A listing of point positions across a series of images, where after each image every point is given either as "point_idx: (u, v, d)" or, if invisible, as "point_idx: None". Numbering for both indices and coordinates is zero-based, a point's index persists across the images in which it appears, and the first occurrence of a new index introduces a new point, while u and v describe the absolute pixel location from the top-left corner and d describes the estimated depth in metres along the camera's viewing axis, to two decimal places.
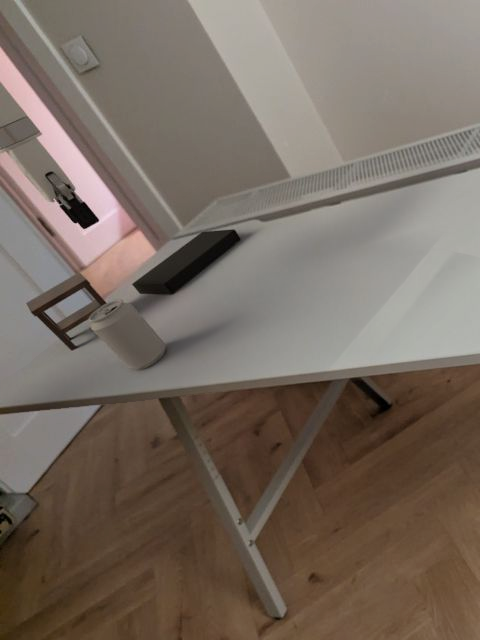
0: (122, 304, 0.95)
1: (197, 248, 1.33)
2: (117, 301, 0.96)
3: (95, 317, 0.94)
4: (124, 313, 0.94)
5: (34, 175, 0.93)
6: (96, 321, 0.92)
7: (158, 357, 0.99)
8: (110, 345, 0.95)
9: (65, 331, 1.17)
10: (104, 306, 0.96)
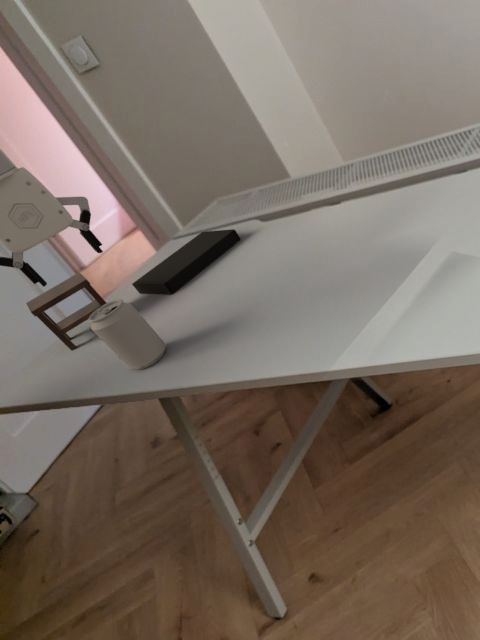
0: (122, 304, 0.95)
1: (197, 248, 1.33)
2: (117, 301, 0.96)
3: (95, 317, 0.94)
4: (124, 313, 0.94)
5: (51, 194, 0.84)
6: (96, 321, 0.92)
7: (158, 357, 0.99)
8: (110, 345, 0.95)
9: (65, 331, 1.17)
10: (104, 306, 0.96)
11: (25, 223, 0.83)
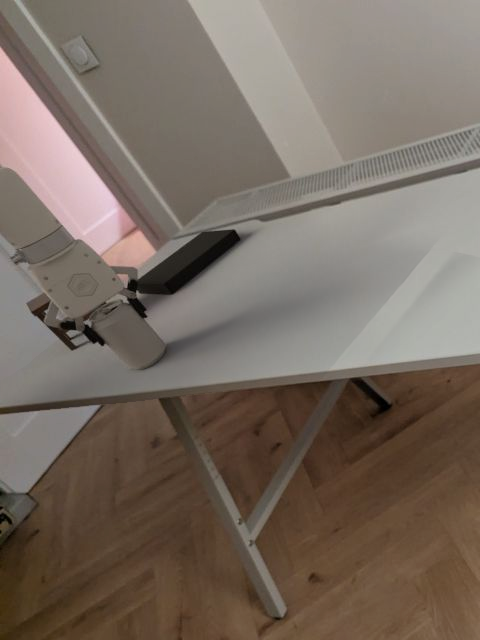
0: (122, 304, 0.95)
1: (197, 248, 1.33)
2: (117, 301, 0.96)
3: (95, 317, 0.94)
4: (124, 313, 0.94)
5: (106, 263, 0.91)
6: (96, 321, 0.92)
7: (158, 357, 0.99)
8: (110, 345, 0.95)
9: (65, 331, 1.17)
10: (104, 306, 0.96)
11: (82, 291, 0.89)
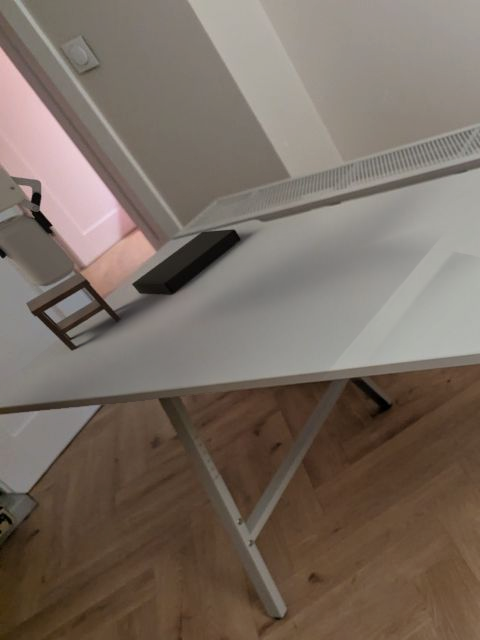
0: (24, 216, 0.94)
1: (197, 248, 1.33)
2: (21, 214, 0.95)
3: None
4: (24, 224, 0.93)
5: (4, 171, 0.90)
6: None
7: (63, 274, 0.98)
8: (11, 258, 0.94)
9: (65, 331, 1.17)
10: (8, 219, 0.95)
11: None
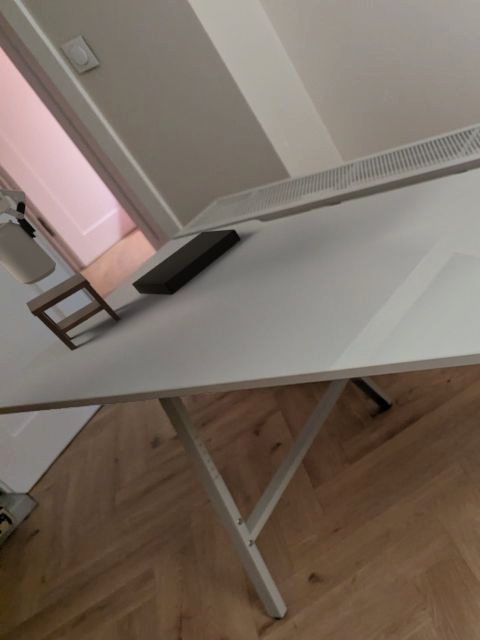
0: (10, 223, 1.07)
1: (197, 248, 1.33)
2: (7, 221, 1.09)
3: None
4: (11, 230, 1.06)
5: None
6: None
7: (46, 273, 1.12)
8: (0, 259, 1.07)
9: (65, 331, 1.17)
10: None
11: None
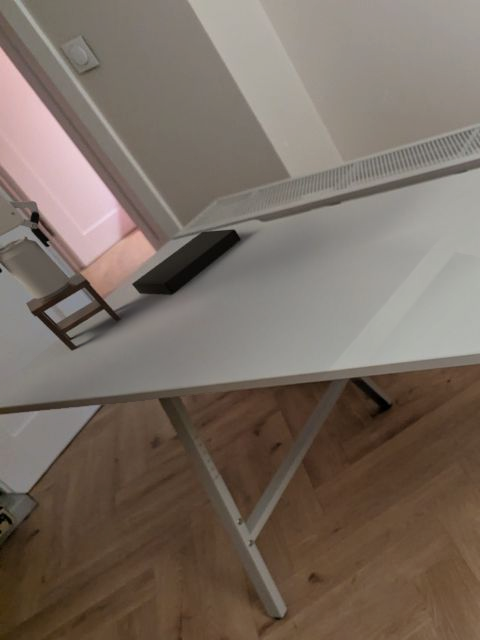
0: (25, 240, 1.09)
1: (197, 248, 1.33)
2: (23, 238, 1.11)
3: (2, 251, 1.09)
4: (26, 247, 1.08)
5: (5, 199, 1.05)
6: (1, 253, 1.07)
7: (60, 288, 1.14)
8: (15, 275, 1.10)
9: (65, 331, 1.17)
10: (11, 243, 1.11)
11: None
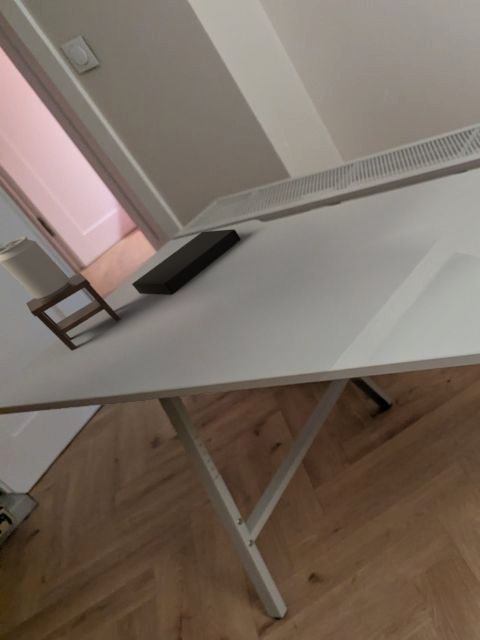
0: (25, 240, 1.09)
1: (197, 248, 1.33)
2: (23, 238, 1.11)
3: (2, 251, 1.09)
4: (26, 247, 1.08)
5: None
6: (1, 253, 1.07)
7: (60, 288, 1.14)
8: (15, 275, 1.10)
9: (65, 331, 1.17)
10: (11, 243, 1.11)
11: None
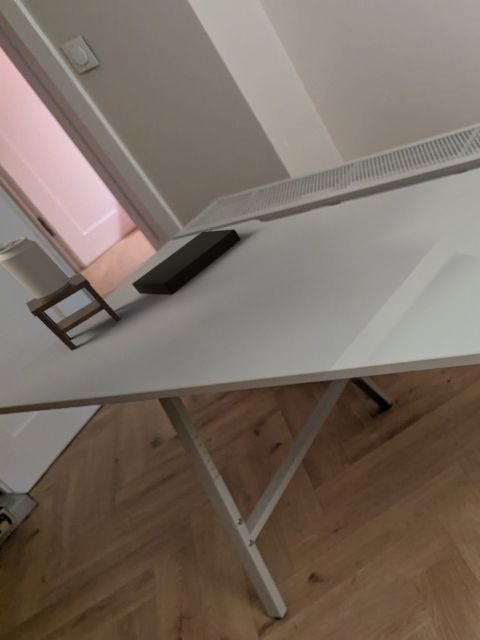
0: (25, 240, 1.09)
1: (197, 248, 1.33)
2: (23, 238, 1.11)
3: (2, 251, 1.09)
4: (26, 247, 1.08)
5: None
6: (1, 253, 1.07)
7: (60, 288, 1.14)
8: (15, 275, 1.10)
9: (65, 331, 1.17)
10: (11, 243, 1.11)
11: None
